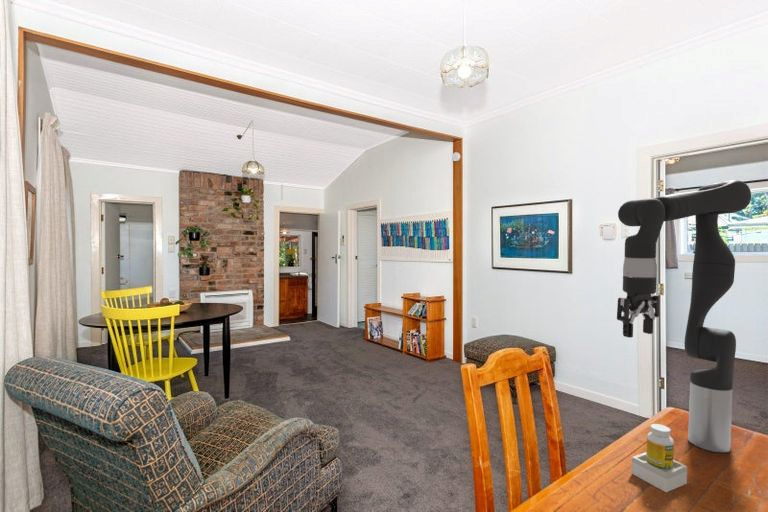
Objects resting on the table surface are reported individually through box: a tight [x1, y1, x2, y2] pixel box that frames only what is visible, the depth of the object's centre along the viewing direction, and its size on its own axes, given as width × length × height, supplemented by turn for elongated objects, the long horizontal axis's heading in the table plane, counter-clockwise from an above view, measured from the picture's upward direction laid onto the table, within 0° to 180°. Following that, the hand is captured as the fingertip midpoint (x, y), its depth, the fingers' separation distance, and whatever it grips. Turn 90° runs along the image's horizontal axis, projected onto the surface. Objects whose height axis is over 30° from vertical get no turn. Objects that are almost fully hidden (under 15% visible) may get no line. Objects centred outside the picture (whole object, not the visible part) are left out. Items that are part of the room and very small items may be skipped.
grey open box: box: [631, 451, 688, 493], centre depth 95 cm, size 8×8×4 cm
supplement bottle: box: [645, 423, 675, 472], centre depth 95 cm, size 5×5×10 cm
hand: (637, 335), depth 105 cm, fingers open, 8 cm apart
